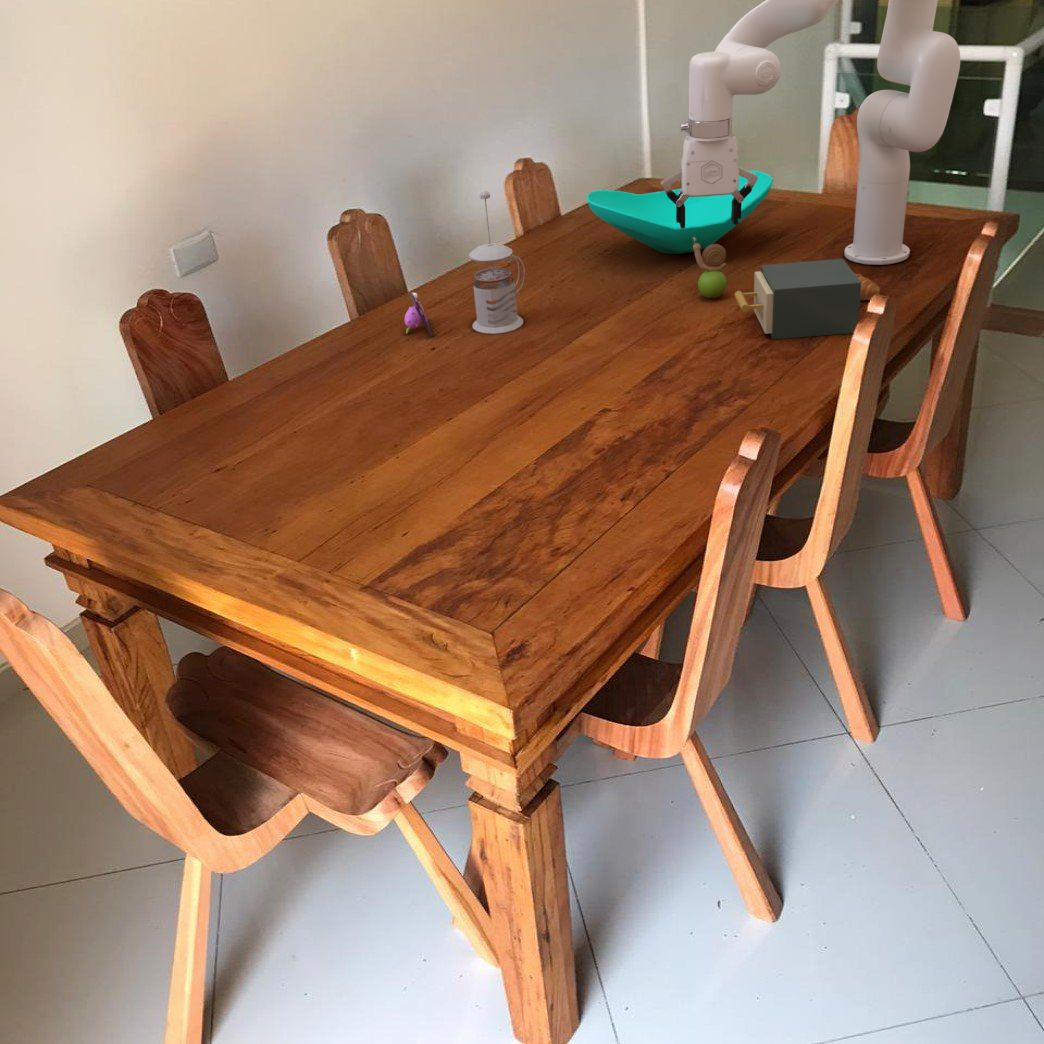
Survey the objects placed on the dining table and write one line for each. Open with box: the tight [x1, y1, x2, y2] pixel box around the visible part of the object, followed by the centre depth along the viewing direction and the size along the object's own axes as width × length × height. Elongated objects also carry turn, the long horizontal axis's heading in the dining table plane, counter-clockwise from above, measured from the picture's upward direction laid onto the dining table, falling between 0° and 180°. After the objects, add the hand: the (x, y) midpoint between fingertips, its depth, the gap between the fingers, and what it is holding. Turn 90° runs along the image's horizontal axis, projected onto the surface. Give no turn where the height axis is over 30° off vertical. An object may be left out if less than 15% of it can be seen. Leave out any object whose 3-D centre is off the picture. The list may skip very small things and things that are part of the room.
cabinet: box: [760, 258, 861, 340], centre depth 194 cm, size 15×13×9 cm
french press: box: [468, 190, 526, 335], centre depth 203 cm, size 10×12×25 cm
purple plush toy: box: [404, 290, 434, 338], centre depth 208 cm, size 7×5×9 cm
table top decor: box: [585, 169, 774, 255], centre depth 233 cm, size 40×28×13 cm
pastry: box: [853, 272, 881, 302], centre depth 205 cm, size 9×7×4 cm
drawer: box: [734, 270, 774, 335], centre depth 194 cm, size 17×11×7 cm, turn 90°
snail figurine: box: [693, 237, 728, 299], centre depth 208 cm, size 5×6×12 cm
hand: (708, 224), depth 203 cm, fingers open, 9 cm apart
